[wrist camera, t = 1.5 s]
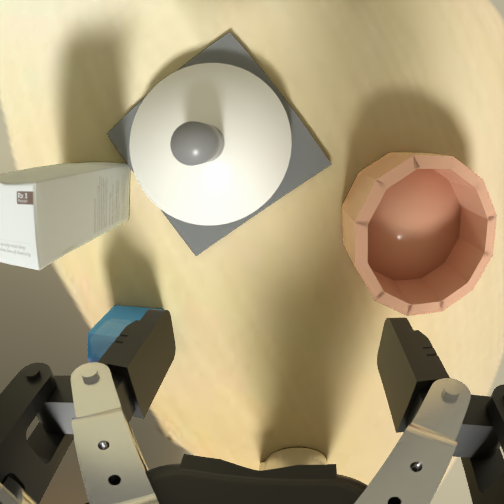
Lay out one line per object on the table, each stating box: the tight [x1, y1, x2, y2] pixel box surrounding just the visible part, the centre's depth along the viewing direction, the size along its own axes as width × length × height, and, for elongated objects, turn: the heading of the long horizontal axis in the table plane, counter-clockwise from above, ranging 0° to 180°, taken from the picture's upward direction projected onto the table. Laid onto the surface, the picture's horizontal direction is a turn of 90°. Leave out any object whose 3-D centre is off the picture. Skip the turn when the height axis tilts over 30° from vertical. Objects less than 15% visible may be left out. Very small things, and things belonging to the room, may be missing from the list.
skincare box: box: [0, 162, 131, 270], centre depth 23 cm, size 8×6×15 cm
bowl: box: [342, 152, 496, 316], centre depth 25 cm, size 13×13×6 cm
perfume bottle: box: [88, 305, 164, 363], centre depth 29 cm, size 6×6×12 cm
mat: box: [107, 32, 331, 256], centre depth 27 cm, size 15×15×1 cm
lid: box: [129, 63, 292, 225], centre depth 24 cm, size 14×14×6 cm
